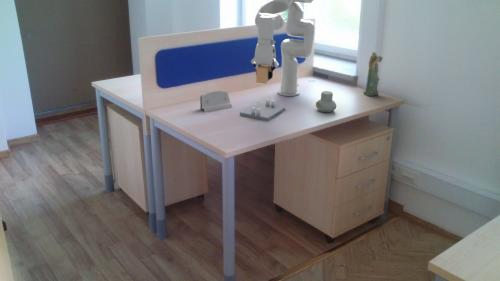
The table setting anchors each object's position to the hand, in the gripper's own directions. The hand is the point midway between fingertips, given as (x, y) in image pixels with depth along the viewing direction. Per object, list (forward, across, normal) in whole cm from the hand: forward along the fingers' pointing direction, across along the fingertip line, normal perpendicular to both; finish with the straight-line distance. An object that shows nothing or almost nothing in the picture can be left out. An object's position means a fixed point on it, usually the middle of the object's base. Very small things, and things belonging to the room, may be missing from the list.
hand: (264, 77), depth 242 cm
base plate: (+19, 0, 0) cm, 19 cm away
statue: (+18, -38, -64) cm, 77 cm away
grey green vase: (+19, -26, -21) cm, 39 cm away
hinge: (+19, +25, +6) cm, 32 cm away
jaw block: (+1, 0, 0) cm, 1 cm away
